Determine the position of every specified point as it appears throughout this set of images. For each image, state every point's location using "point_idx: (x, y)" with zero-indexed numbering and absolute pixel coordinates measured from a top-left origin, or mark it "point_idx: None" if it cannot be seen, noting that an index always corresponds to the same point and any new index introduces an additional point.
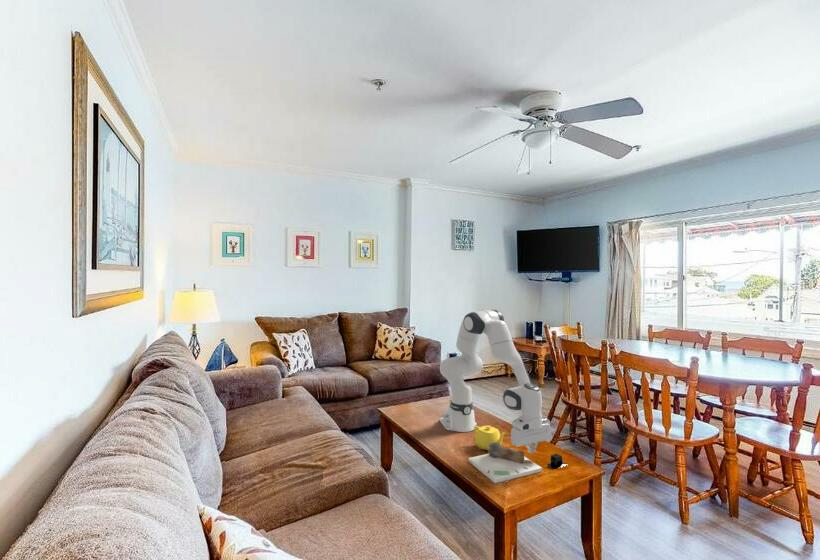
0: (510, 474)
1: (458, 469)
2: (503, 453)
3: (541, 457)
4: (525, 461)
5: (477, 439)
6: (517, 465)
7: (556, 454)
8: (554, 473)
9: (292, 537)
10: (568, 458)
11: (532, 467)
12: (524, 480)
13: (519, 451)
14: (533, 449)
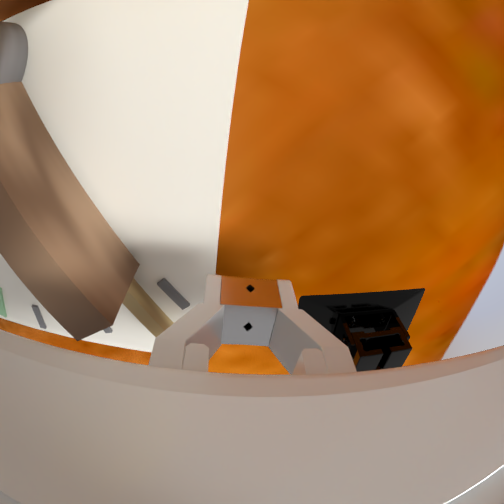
0: (8, 313)
1: None
2: None
3: (385, 215)
4: (124, 299)
5: None
6: None
7: (396, 358)
8: (257, 371)
9: None
10: (461, 298)
11: (151, 333)
12: (68, 343)
13: (65, 295)
14: (256, 338)
